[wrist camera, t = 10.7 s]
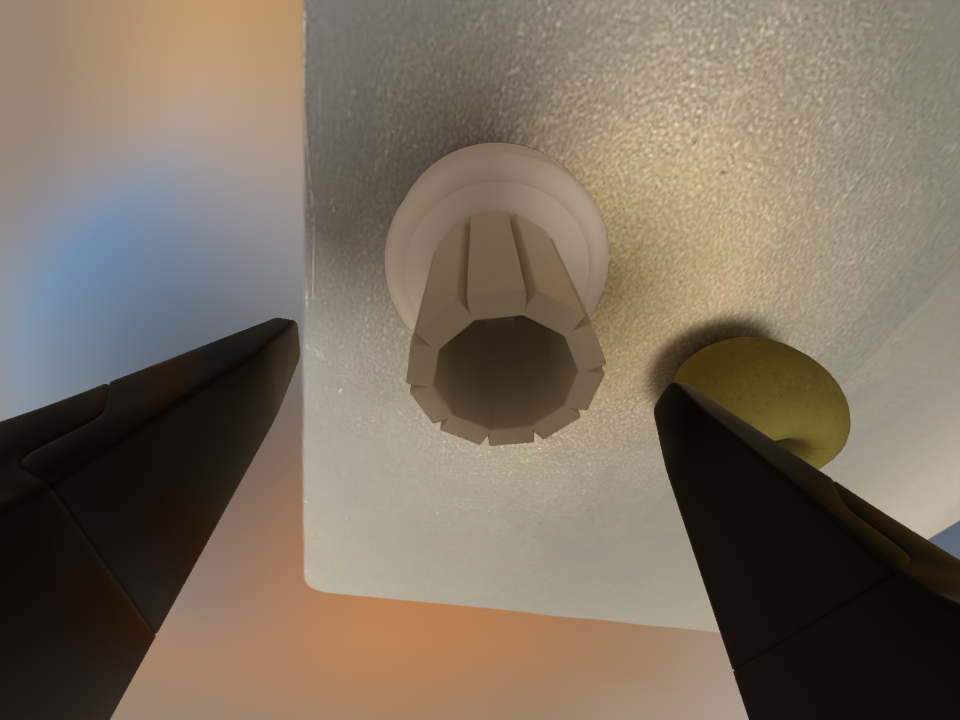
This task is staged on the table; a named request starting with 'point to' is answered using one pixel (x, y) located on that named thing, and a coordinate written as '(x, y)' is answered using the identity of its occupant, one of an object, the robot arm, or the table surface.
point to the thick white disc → (487, 190)
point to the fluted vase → (502, 336)
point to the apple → (774, 394)
